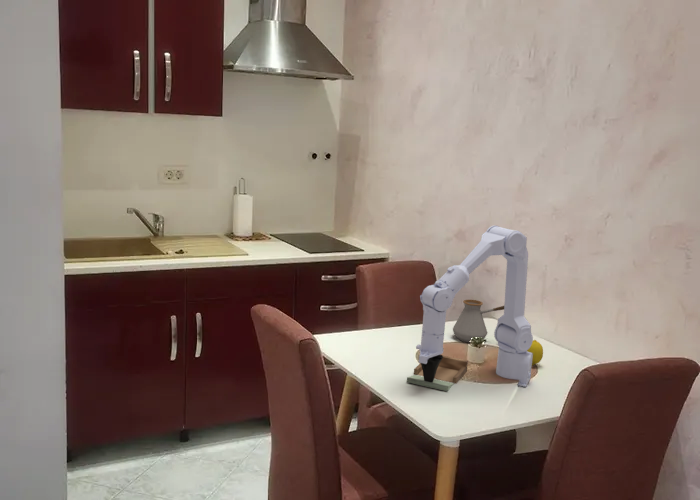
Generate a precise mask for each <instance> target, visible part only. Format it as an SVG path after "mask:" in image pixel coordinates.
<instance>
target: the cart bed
mask: <svg viewBox="0 0 700 500" xmlns="http://www.w3.org/2000/svg"><path fill="white" fill-rule="evenodd" d="M468 362H469V360H467V359H462V358H456V357H451V356H447V355H443V359H442V360H441V362H440V363H439V366H438V368H437V371H436V374H435V377H434V379H436V380H440V381H445V382H450V383H454V384H457V383H458V382H459V381H460V380H461V379H462V377H463V376H465V374H466V373H467V372H468V365H469V364H468ZM413 375H417V376H422V377H423V370H422V366H421V363H419V364H418V365H417V366H416V367H414V369H413Z"/></svg>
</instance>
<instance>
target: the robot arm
mask: <svg viewBox="0 0 700 500" xmlns="http://www.w3.org/2000/svg"><path fill="white" fill-rule="evenodd" d="M480 237H481V239H480V241H479V242H478V243H477V245H475V247H474V248H473V249H472V250H471V251H470V253H469V254H468V255H467V256H466V257H465V258H464V259H463V260H462V262H461V263H460V264H458V265H457V264H454V265H452V266H449V267H448V268H447V269H446V270H447V271H446V272H445V273H444V274H443V275H442V276H441V277H440V278H438V279H437V280H436V281H435V282H434V283H433V284H431V285H427V286H426V287H425V288H424V289H423V291H422V293H421V294H420V295H419V298H420V302H421V305H422V310H423V316H422V327H421V339H420V344H417V345H416V346H415V348H416V350H419V355H418V363H419V364H420V363H421V366H422V370H423V376H422V377H424V381H427V382H433V380H434V377H435V374H436V371H437V368H438V366H439V363H440V362H441V360H442V359H443V356H444V355H443V353H444V339H445V329H446V319H447V310H448V309H450V308H451V307H452V304H453V300H454V299H455V298H456V297H455V296H456V295H457V294H458V293H459V291H461V290H462V288H463V287H465V286H466V285H467V284H468V282H469V281H470V274H472V272H474V271H475V270H476V269H478V268H479V266H480V265H482V264H483V263H484V262H485V261H486V260H488V258H490V257H491V256H492V257H493V256H502V257H503V258H505V260H506V270H505V271H506V273H505V290H504V291H505V292H504V303H503V304H504V305H503V306H504V310H503V315H501V316H499V317H498V318H497V324H496V326H495V328H494V332H493V333H494V334H493V335H494V339H495V341H496V342H497V347H498V350H497V351H498V352H497V360H496V361H497V362H496V369H495V374H496V375H497V376H499V377H500V378H504V379H509V380H515V381H518V382H517V383H516V386H518V387H527V386H528V385H529V382H530V380H531V376H532V367H533V365H532V359H533V353H531V352H528V351H527V350H528V349H529V348H530V347H531V345H532V342H533V340H534V337H533V333H532V326H531V325H532V324H531V323H530V322H529V321H528V320H527V318H526V317H525V311H526V310H525V308H526V294H527V280H528V278H527V277H528V265H529V251H528V248H527V241H528V238H527V236H526V235H525V234H523V232H522V231H520V230H516V229H510V228H505V227H501V226H499V225H491V226H489V227H488V228H487V230H486V231H485V232H484V233H482V234H481V236H480Z"/></svg>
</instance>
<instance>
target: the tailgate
mask: <svg viewBox="0 0 700 500" xmlns="http://www.w3.org/2000/svg"><path fill="white" fill-rule="evenodd" d="M406 383H409V384H413V385H417V386H422V387H427V388H431V389H436V390H441V391H445V392H447V391H449V390H450V389H451V388H452V387H453V386H454V384H455V383H451V382H447V381H442V380H438V379H434V380H433V382H427V381H424V377H423V376H419V375H415V374H413V375H411V376H408V377H406Z"/></svg>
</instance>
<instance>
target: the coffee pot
mask: <svg viewBox="0 0 700 500" xmlns="http://www.w3.org/2000/svg"><path fill="white" fill-rule="evenodd" d="M462 301H463V305H464V307H463V309H462V311H461V313H460V315H459V317H458V318H457V320H456V322H455V324H454V325H453V327H452V332H453V335H455V337H457V339H458V340H459V341H461V342H465V343H470V342H469V341H470V340H471V338H472V337H482V338H484V339H485V338H486V337H487V335H488V331H487V330H488V329H487V327H486V324H485V320H484V318H483V314H487V313H491V312H497V311H501V310H502V311H504V305H502V306H501V305H500V306H497V307H494V308H489V309H486V310H485V309H484V310H481V307H482V306H483V304H484V303H483V302H482V301H480V300H477V299H465V300H464V299H463V300H462Z"/></svg>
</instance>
